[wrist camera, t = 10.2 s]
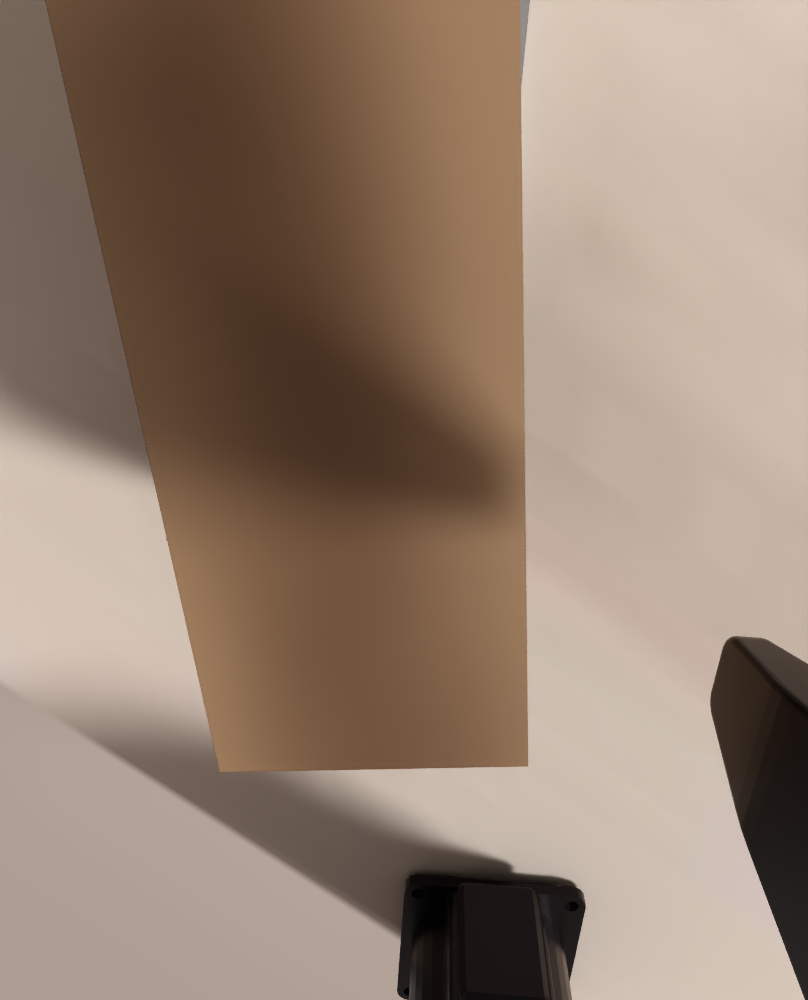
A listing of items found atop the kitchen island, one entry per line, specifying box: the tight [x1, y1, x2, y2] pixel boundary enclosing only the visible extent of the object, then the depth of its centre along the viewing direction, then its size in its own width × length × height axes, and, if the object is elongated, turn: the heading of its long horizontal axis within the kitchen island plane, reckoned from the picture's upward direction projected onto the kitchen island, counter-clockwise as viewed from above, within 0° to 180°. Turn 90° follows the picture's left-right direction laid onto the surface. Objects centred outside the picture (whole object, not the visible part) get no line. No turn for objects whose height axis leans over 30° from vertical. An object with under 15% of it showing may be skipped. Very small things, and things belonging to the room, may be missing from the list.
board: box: [45, 0, 528, 772], centre depth 13 cm, size 6×14×6 cm, turn 4°
